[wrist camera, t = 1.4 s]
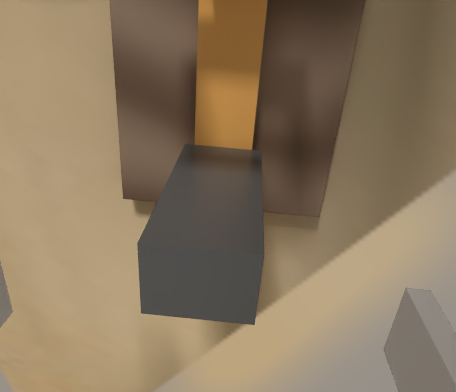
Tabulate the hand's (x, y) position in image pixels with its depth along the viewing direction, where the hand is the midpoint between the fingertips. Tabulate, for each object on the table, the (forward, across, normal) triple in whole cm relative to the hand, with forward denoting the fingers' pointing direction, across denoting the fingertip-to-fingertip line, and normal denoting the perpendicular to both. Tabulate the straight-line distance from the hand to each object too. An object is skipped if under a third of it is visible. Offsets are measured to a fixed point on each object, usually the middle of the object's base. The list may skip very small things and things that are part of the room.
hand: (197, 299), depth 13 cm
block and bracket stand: (+10, 0, +4) cm, 11 cm away
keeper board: (+12, 0, +10) cm, 16 cm away
